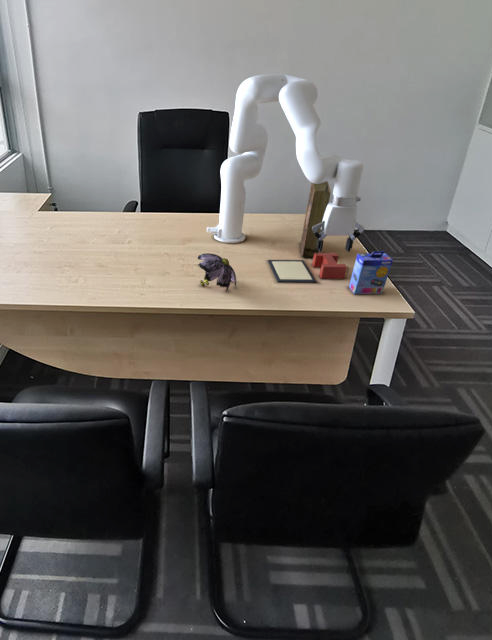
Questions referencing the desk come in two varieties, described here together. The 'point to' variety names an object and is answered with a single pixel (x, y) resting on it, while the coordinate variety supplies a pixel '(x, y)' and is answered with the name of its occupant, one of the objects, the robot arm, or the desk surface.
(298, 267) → the desk mat
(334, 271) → the letter I
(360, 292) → the ink cartridge box
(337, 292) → the desk surface
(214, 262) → the decorative flower
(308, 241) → the book
